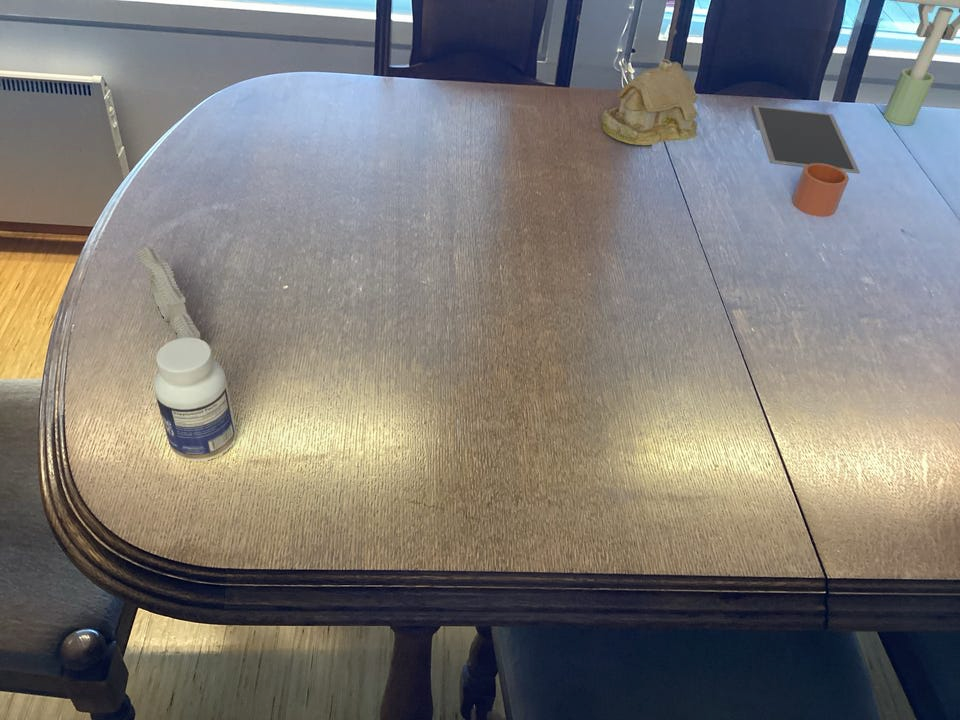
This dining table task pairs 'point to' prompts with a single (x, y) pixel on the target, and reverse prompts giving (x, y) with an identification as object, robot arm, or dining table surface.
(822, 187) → the cup
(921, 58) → the stylus
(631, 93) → the ceramic model
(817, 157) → the tablet
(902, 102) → the pen cup
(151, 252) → the beige ridged long part
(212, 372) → the pill bottle
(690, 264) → the dining table surface
